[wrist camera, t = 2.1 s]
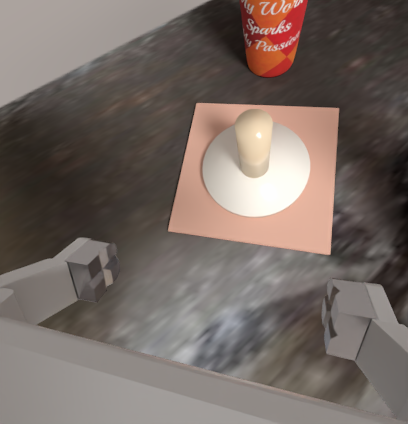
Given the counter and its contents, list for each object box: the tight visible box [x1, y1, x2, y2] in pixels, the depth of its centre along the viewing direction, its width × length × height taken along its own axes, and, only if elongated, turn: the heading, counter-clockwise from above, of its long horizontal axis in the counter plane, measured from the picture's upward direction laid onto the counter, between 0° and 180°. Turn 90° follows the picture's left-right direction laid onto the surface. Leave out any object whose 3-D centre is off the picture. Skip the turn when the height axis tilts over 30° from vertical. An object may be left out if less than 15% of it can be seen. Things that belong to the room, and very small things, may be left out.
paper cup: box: [240, 0, 308, 78], centre depth 27 cm, size 8×8×14 cm
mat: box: [168, 103, 339, 255], centre depth 30 cm, size 16×16×1 cm
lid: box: [202, 109, 310, 218], centre depth 26 cm, size 11×11×8 cm
